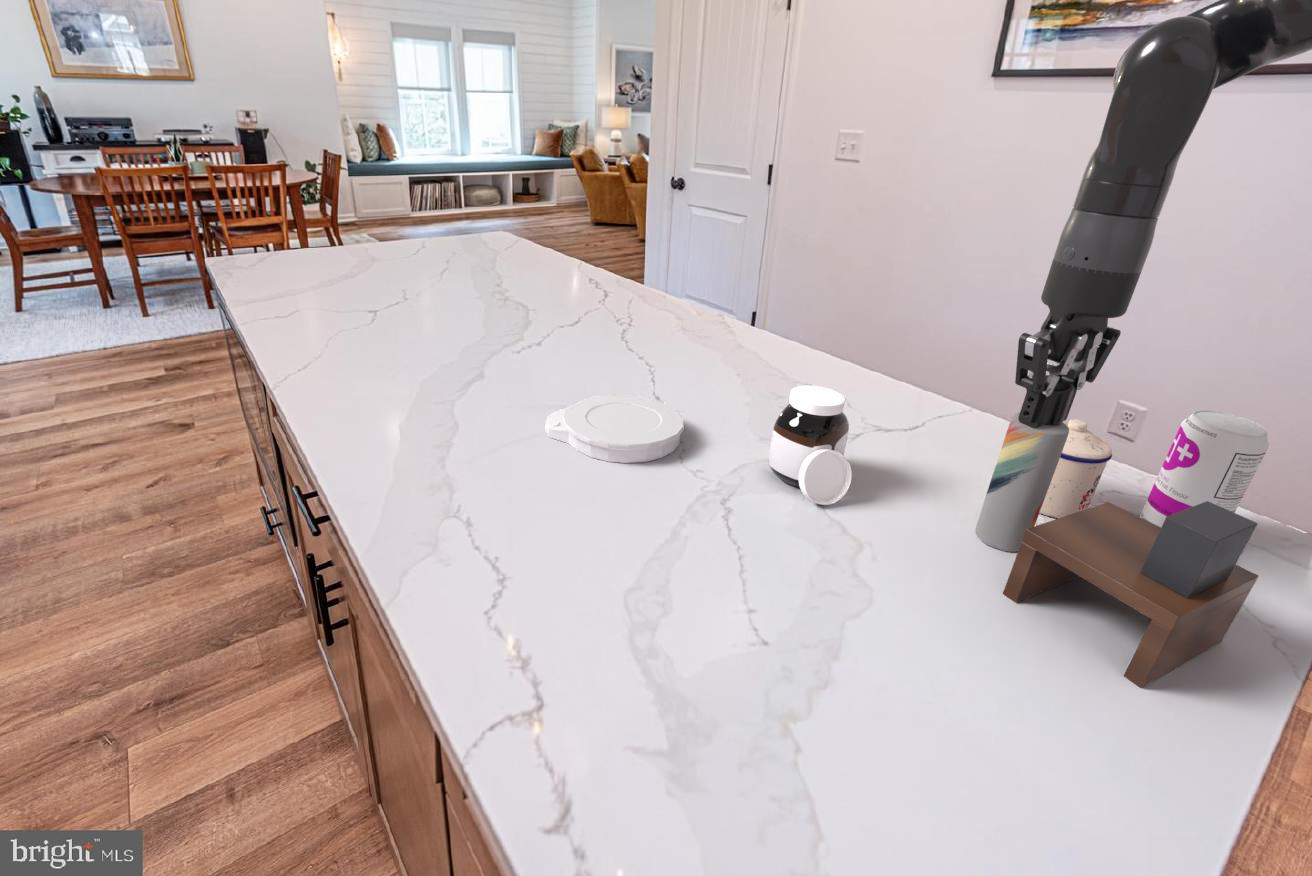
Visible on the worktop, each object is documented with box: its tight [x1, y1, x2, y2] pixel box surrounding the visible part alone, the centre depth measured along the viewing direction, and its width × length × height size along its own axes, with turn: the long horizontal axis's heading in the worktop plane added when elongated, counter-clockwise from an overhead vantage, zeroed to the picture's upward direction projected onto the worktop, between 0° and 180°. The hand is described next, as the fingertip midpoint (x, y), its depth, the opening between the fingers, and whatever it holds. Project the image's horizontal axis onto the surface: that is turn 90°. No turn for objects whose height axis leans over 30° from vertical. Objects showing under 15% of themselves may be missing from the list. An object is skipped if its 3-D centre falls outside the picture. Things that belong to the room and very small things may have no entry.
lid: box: [544, 393, 685, 464], centre depth 97 cm, size 17×20×3 cm
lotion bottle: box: [975, 374, 1075, 553], centre depth 75 cm, size 6×6×20 cm
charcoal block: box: [1141, 501, 1258, 598], centre depth 60 cm, size 7×4×6 cm, turn 118°
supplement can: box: [1139, 409, 1270, 527], centre depth 81 cm, size 8×8×15 cm
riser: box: [1002, 501, 1260, 689], centre depth 66 cm, size 14×14×8 cm
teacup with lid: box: [1039, 418, 1113, 519], centre depth 87 cm, size 12×9×12 cm
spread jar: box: [768, 384, 853, 506], centre depth 86 cm, size 12×11×12 cm
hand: (1041, 421), depth 73 cm, fingers closed on lotion bottle, 4 cm apart
